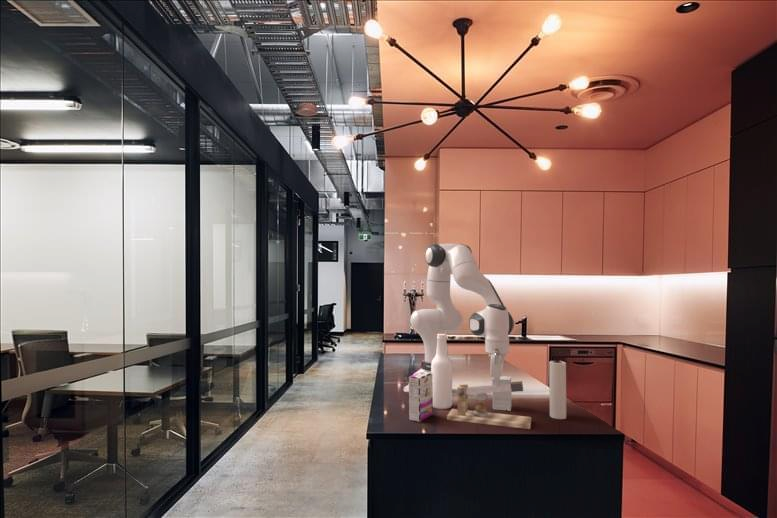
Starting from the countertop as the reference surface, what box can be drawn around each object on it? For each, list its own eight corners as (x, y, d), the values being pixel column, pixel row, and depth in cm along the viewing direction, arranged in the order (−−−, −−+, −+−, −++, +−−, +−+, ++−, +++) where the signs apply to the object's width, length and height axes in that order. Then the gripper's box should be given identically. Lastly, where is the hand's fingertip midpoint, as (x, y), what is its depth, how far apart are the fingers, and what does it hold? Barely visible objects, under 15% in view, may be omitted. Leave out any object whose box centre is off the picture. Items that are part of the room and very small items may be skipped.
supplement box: (511, 406, 189) (511, 376, 190) (510, 411, 182) (510, 379, 183) (493, 404, 192) (493, 374, 192) (492, 409, 185) (492, 378, 185)
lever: (459, 401, 172) (457, 388, 173) (461, 399, 176) (459, 386, 176) (523, 397, 164) (521, 383, 165) (524, 395, 168) (522, 381, 168)
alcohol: (454, 409, 185) (455, 335, 186) (434, 409, 183) (434, 335, 185) (448, 403, 193) (448, 332, 195) (428, 403, 192) (429, 333, 193)
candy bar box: (421, 412, 179) (422, 371, 180) (433, 415, 176) (433, 372, 177) (407, 420, 169) (408, 376, 170) (419, 422, 167) (419, 377, 167)
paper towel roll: (557, 420, 171) (557, 363, 172) (546, 416, 176) (545, 360, 177) (572, 418, 173) (571, 362, 174) (560, 414, 179) (559, 359, 180)
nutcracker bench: (447, 419, 170) (447, 387, 171) (452, 412, 180) (452, 382, 180) (530, 429, 160) (530, 395, 161) (531, 421, 170) (531, 388, 170)
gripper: (504, 352, 159) (504, 391, 159) (506, 344, 179) (506, 379, 178) (486, 351, 161) (486, 390, 161) (490, 343, 181) (490, 378, 180)
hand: (497, 384), depth 170 cm, fingers closed
